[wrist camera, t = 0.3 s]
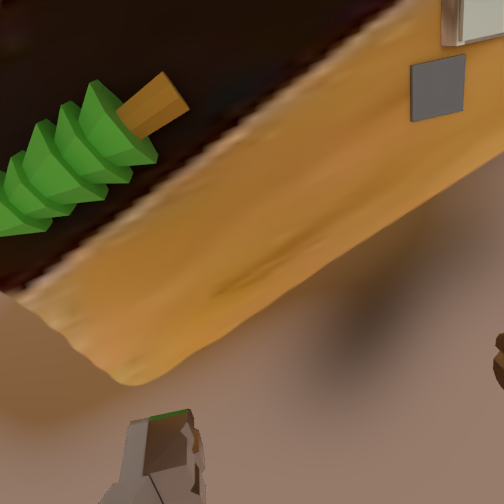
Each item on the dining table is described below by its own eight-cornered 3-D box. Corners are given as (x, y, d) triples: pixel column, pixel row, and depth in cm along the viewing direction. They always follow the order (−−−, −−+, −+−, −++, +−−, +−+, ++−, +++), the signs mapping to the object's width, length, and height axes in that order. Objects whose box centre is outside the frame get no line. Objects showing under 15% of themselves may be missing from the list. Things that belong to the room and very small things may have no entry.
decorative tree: (192, 119, 41) (-35, 287, 44) (210, 137, 52) (29, 269, 55) (124, 19, 40) (-101, 198, 43) (158, 59, 51) (-23, 199, 55)
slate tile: (410, 65, 53) (412, 65, 52) (463, 53, 53) (465, 54, 52) (410, 121, 56) (412, 121, 55) (460, 110, 56) (462, 110, 56)
